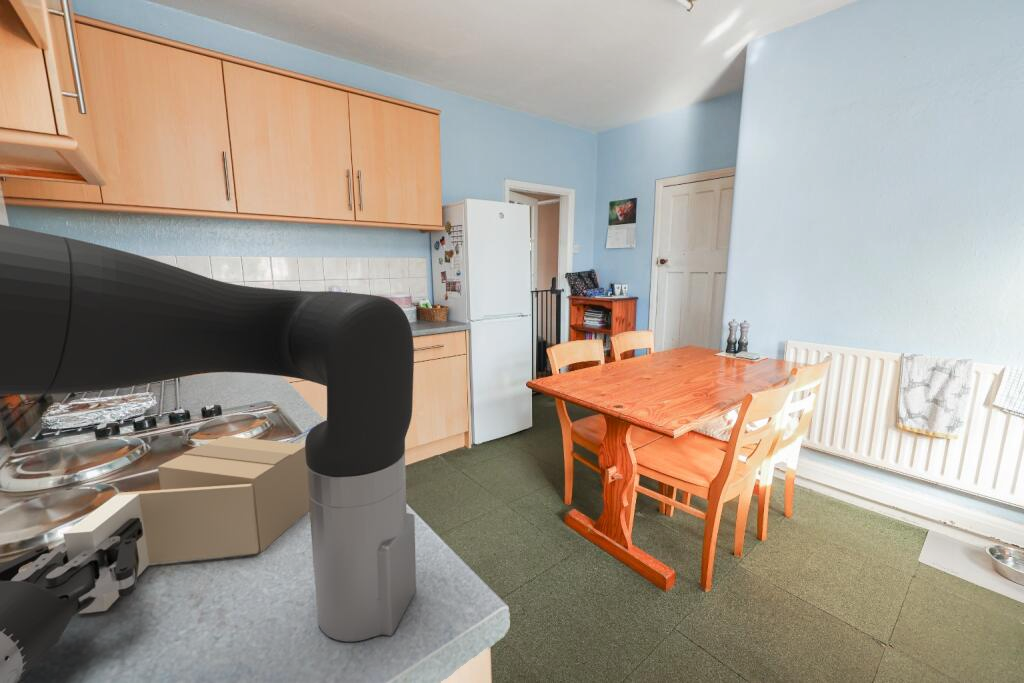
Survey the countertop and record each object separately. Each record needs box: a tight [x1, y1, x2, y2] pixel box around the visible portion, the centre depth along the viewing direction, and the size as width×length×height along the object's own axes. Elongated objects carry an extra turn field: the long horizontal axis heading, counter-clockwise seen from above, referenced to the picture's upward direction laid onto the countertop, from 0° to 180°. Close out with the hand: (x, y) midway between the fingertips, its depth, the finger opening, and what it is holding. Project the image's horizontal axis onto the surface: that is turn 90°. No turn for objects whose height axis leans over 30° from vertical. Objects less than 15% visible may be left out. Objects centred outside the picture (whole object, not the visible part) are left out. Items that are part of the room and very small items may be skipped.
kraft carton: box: [157, 435, 310, 553], centre depth 59 cm, size 14×10×10 cm
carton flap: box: [62, 484, 259, 615], centre depth 47 cm, size 14×8×9 cm, turn 100°
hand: (120, 526), depth 47 cm, fingers closed on carton flap, 2 cm apart
